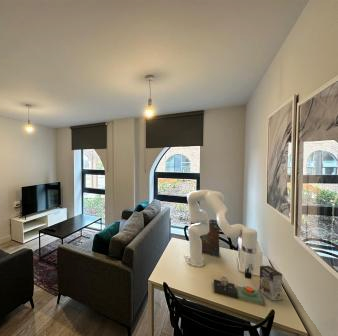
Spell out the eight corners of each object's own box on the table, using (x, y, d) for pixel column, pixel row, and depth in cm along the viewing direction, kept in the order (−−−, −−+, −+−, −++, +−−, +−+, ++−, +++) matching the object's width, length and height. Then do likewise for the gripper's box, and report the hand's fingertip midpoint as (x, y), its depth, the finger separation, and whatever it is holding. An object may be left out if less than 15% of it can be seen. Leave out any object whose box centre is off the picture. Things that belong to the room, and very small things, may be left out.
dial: (229, 287, 118) (229, 279, 118) (223, 288, 118) (223, 280, 118) (225, 283, 122) (225, 275, 122) (219, 284, 122) (219, 276, 122)
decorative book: (219, 253, 167) (219, 220, 165) (219, 257, 160) (219, 222, 159) (190, 248, 178) (190, 217, 176) (190, 251, 172) (190, 219, 170)
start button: (245, 292, 114) (245, 289, 113) (244, 288, 117) (244, 285, 117) (253, 294, 112) (253, 291, 112) (252, 289, 115) (252, 287, 115)
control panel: (214, 293, 118) (214, 288, 118) (213, 283, 127) (213, 278, 127) (236, 298, 113) (236, 293, 113) (234, 288, 122) (234, 283, 122)
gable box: (238, 257, 159) (238, 225, 157) (257, 262, 152) (258, 228, 151) (239, 271, 140) (240, 234, 138) (262, 277, 133) (262, 238, 132)
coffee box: (258, 290, 120) (259, 265, 119) (268, 289, 121) (268, 265, 120) (272, 300, 111) (272, 274, 110) (282, 299, 112) (282, 273, 111)
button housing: (238, 299, 113) (238, 292, 113) (236, 288, 122) (236, 282, 122) (263, 305, 108) (263, 298, 107) (258, 294, 117) (259, 287, 116)
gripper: (239, 242, 122) (238, 269, 123) (244, 253, 109) (243, 283, 110) (253, 244, 119) (252, 272, 120) (260, 256, 105) (258, 287, 107)
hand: (248, 277), depth 115 cm, fingers closed
